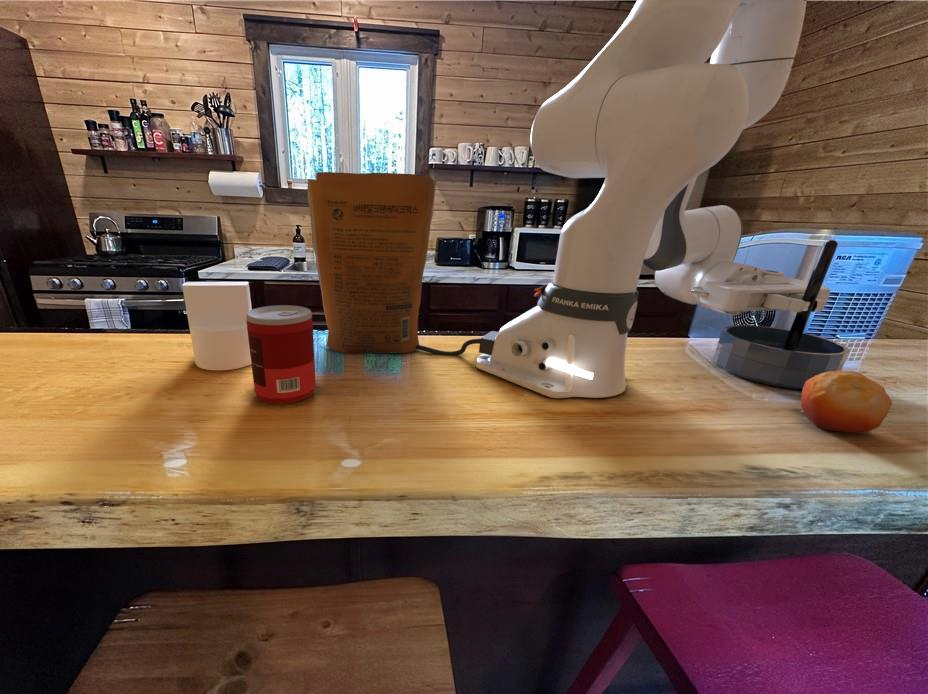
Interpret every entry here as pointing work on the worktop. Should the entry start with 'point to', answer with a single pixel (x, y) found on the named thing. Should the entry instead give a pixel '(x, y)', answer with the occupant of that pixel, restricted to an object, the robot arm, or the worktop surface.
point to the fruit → (844, 402)
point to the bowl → (776, 355)
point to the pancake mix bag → (371, 256)
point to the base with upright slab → (218, 323)
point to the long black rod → (811, 293)
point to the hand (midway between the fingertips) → (812, 306)
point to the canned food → (282, 353)
